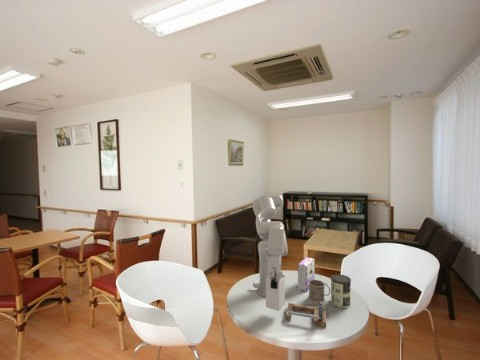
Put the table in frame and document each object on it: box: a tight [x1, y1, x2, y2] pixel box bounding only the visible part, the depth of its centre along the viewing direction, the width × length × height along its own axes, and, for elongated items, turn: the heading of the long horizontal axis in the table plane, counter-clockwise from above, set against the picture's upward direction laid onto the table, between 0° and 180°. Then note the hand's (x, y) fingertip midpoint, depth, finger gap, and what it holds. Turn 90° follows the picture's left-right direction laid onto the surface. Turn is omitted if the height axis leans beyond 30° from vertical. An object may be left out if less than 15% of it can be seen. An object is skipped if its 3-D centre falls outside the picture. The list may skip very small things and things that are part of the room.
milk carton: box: [265, 270, 286, 312], centre depth 128 cm, size 7×7×19 cm
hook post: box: [318, 302, 324, 321], centre depth 121 cm, size 2×4×8 cm, turn 163°
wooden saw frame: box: [285, 302, 327, 329], centre depth 128 cm, size 19×12×2 cm, turn 73°
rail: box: [287, 311, 321, 322], centre depth 123 cm, size 16×1×4 cm, turn 73°
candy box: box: [297, 256, 316, 293], centre depth 160 cm, size 14×6×16 cm, turn 144°
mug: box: [306, 279, 331, 305], centre depth 142 cm, size 14×10×12 cm
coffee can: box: [330, 273, 352, 309], centre depth 141 cm, size 10×10×14 cm
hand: (275, 283), depth 128 cm, fingers closed on milk carton, 8 cm apart
